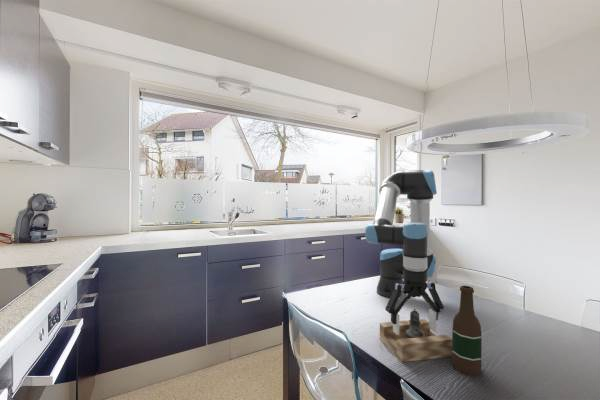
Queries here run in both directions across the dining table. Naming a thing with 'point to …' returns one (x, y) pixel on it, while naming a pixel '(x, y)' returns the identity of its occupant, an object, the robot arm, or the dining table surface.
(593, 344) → the dining table surface
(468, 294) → the beer bottle
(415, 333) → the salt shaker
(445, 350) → the well block
